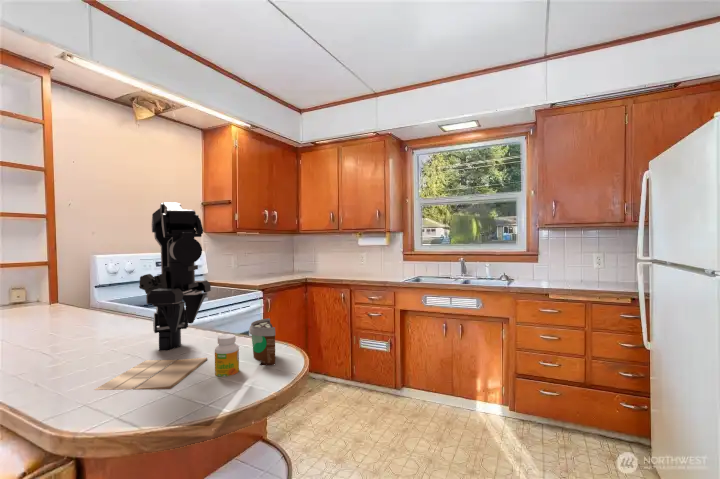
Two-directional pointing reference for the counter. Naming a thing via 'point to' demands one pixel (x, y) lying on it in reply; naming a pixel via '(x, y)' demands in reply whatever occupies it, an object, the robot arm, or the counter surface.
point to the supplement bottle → (226, 356)
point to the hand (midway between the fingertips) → (182, 327)
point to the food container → (263, 341)
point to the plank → (171, 374)
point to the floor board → (135, 375)
